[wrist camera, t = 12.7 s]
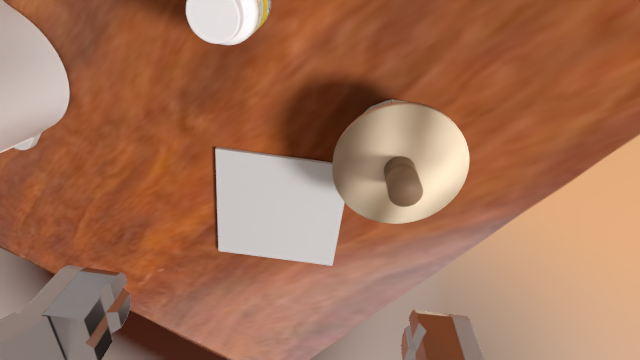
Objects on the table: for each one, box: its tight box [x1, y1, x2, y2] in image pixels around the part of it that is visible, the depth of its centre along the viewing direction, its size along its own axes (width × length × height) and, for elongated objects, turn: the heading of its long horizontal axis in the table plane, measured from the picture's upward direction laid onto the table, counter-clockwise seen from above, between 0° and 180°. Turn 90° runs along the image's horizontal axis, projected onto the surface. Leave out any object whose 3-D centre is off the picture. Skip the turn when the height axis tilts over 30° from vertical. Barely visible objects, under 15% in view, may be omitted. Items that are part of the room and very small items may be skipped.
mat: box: [215, 147, 344, 266], centre depth 47 cm, size 16×16×1 cm
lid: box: [332, 102, 469, 224], centre depth 34 cm, size 13×13×5 cm
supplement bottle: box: [186, 0, 271, 45], centre depth 31 cm, size 5×5×10 cm
